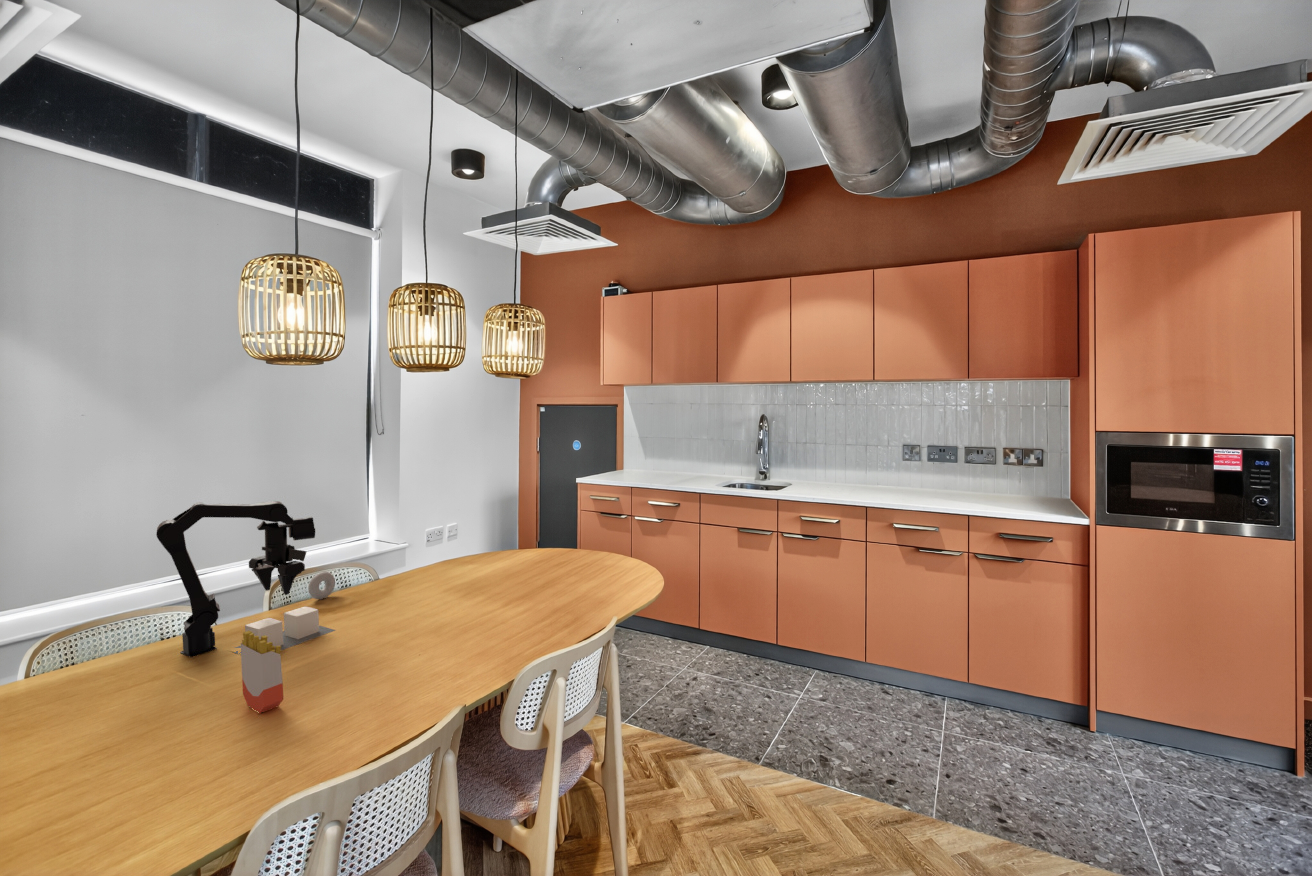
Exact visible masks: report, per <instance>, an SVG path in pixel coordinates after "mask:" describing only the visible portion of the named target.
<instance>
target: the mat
mask: <svg viewBox="0 0 1312 876" xmlns="http://www.w3.org/2000/svg"><path fill="white" fill-rule="evenodd" d="M335 631H336V629H333V628H329V627H327V626H322V625H320V624H319V632H316V633H314V634H311V635H308V636H305V637H303V638H300V639H295V638H292V637H289V636H285V633H284V630H283V645H280V646H281V650H280V652H281V651H285V650H286V649H289V648H293V647H295V646H297V645H300V644H303V643H305V642H308V641H310V640H313V639H317V638H319V637H322V636H324V635H327V634H330V633H333V632H335ZM234 648H241V645H238V646H236V647H234ZM240 653H241V652H240ZM240 653H239V654H240ZM234 654H237V655H239V654H238V651H236V652H234Z"/></svg>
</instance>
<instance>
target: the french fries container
mask: <svg viewBox="0 0 1312 876" xmlns="http://www.w3.org/2000/svg"><path fill="white" fill-rule="evenodd" d="M242 638H243V639H242V640H241V643H240V646H241V655H240V660H241V661H240V663H241V682H242V683H241V684H242V695H243V697H244V700H245V702H246V704H247V705H246V706H247V707H248V706H250V707H251V708H253V709H254V710H256V711H258V712H259V713H260V714H262V713H261V712H263V713H265V712H267V711H266V710H268V711H270V710H272V709H271V708H273V709H274V707H275V708H277V707H276V706H278V707H279V706H280V704H281V703H282V702H283V700H284V681H283V671H282V660H281V659H282V658H281V651H282V650H281V646H276V647H275V646H273V642H268V643H267V638H268V637H267V636H266V635H265V636H261V639H259V636H254V634H253V633H252V632H251V631H247V632H245V631H243V632H242ZM280 650H281V651H280ZM251 708H250V709H251ZM269 709H270V710H269ZM254 710H253V711H254ZM264 711H265V712H264Z"/></svg>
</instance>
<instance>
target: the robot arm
mask: <svg viewBox="0 0 1312 876" xmlns="http://www.w3.org/2000/svg"><path fill="white" fill-rule="evenodd" d="M203 518H221V519H222V518H224V519H225V518H233V519H234V518H235V519H236V518H242V519H243V518H244V519H248V518H249V519H255V520H260V521H262V522H261V523H260V524H259V525H257V526H256V529H257V530H258V531H264V546H261V551H264V555H262V556H261V555H260V556H257V557H253V558H251V559H250V560H249V561H248V569H251V571H252V572H253V573H254V575H255V576H256V577H257V579H258V580H259V582H260V584H261V586H263V588H264V590H265V591H267V592H268V591H270V590H271V586H272V573H273V572H274V570H275V569H277V573H278V574H277V577H278V581H279V583H280V587H281V591H283V594H284V596H287V595H289V594H290V591H291V589H292V586H293V583H294V580H295V579H296V577H297V576H298V575H299V574H302V573H303V572H304V571H306V567H305V566H306V565H305V563H304V561H305V559H306V558H305V557H306V555H307V551H306V550H301V549H295V546H294V545H291V544H289V543H288V538H292V539H293V541H301V540H309V539H310V540H311V539H315V538H316V528H315V522H314V518H313V517H312V516H307V517H302V518H293V516H291V515H288V509H287V506H286V505H285V504H284V503H282V502H281V501H277V500H271V501H270V500H269V501H263V502H257V503H251V504H250V503H249V504H243V503H242V504H239V503H237V504H236V503H204V502H196V503H194V504H193V505H191V507H189V508H187V509H186V510H184V511H182V512H181V513H179V514H178V515H176V516H175V517H174V518H172V519H166V520H164V521H162V522H161V523H160V524H158V526H157V528H156V538H157V540H158V541H159V542H160V544H161V545H162V547H163V548H164V549H165V550H166V551H167V553H168V554H169V555H170V557H171V558H172V561H173V564H174V566H175V568H176V570H177V573H178V575H179V578H180V580H181V581H182V585H183V586H184V589H185V591H186V593H187V596H188V599H189V601H190V602H189V603H190V608H191V615H190V616H188V618H187V619H186V620H184V622H183V623H184V624H183V629H184V632H182V635H181V636H182V651H180V654H181V655H184V656H186V657H189V656H190V657H189V658H194V657H193V656H195V657H197V655H198V656H200V655H203V654H207V653H209V652H212V650H213V651H214V650H215V649H216V650H217V649H218V648H217V646H216V634H215V633H216V632H215V631H213V630H214V629H213V627H211V626H212V625H214V624H215V623H216V622H217V621H218V619H219V612H220V611H221V609H220V605H219V603H217V601H216V597H215V593H211V594H210V595H208V593H207V592H206V591H205V589H204V587H203V584H202V582H201V580H200V577H199V575H198V573H197V570H196V568H195V566H194V563H193V561H192V558H191V556H190V554H189V551H188V549H187V544H186V539H185V532H186V531H188V530H189V529H190V528H191V527H193V526H194V525H195V524H197V522H199V521H200V520H201V519H203ZM279 522H280V523H283V524H279Z"/></svg>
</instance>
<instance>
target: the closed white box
mask: <svg viewBox="0 0 1312 876" xmlns="http://www.w3.org/2000/svg"><path fill="white" fill-rule="evenodd" d="M319 620H320V617H319V609H317V608H315V607H310V606H302V607H298V608H295V609H292V610H289V611H286V612H283V631H284V633H285V636H289V637H292V638H295V639H300V638H303V637H305V636H308V635H311V634H314V633H316V632H319V625H320V621H319Z"/></svg>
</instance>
